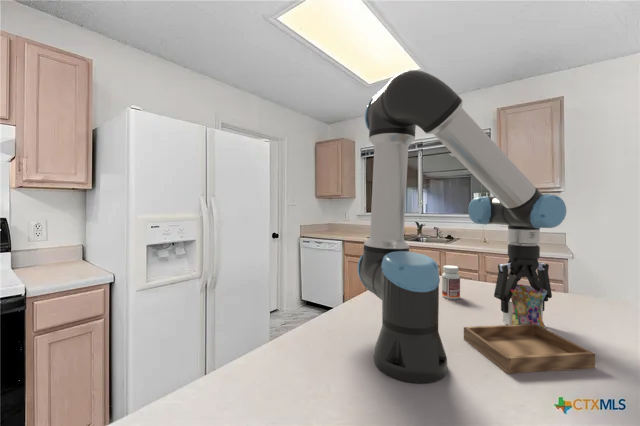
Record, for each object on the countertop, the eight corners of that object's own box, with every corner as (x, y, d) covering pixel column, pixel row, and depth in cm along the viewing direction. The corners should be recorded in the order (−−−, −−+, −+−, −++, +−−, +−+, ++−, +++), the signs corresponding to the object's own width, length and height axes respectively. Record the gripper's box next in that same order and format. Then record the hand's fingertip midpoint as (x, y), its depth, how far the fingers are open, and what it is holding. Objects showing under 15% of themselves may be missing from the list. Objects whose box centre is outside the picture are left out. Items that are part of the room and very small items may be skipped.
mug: (555, 330, 81) (555, 291, 81) (529, 335, 78) (530, 295, 78) (514, 315, 92) (515, 281, 92) (491, 318, 90) (491, 283, 89)
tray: (507, 373, 61) (507, 358, 61) (463, 339, 76) (463, 327, 76) (595, 368, 62) (595, 353, 62) (535, 335, 78) (535, 323, 78)
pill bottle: (462, 297, 111) (462, 266, 110) (456, 300, 106) (456, 269, 106) (446, 293, 115) (446, 264, 115) (439, 297, 111) (439, 266, 110)
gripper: (497, 246, 80) (496, 330, 81) (570, 244, 82) (568, 326, 83) (479, 242, 88) (479, 319, 88) (546, 241, 89) (545, 316, 90)
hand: (522, 322), depth 85 cm, fingers closed on mug, 8 cm apart
